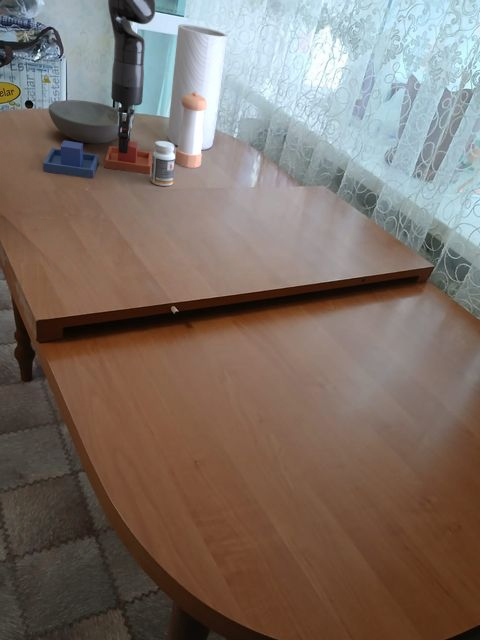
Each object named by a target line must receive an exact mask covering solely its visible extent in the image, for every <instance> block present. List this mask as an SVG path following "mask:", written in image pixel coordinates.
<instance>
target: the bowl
mask: <svg viewBox="0 0 480 640" xmlns="http://www.w3.org/2000/svg"><path fill="white" fill-rule="evenodd" d="M118 109H119V108H115V107H113V106H110V105H107V104H104V103H99V102H94V101H88V100H80V99H79V100H76V99H67V100H59V101H58V100H57V101H54V102H52V103H50V104H49V105H48V113H49V117H50V119H51V121H52V123H53V125H54V126H55V127H56V128H57V129H58V130H59V132H60V133H61V134H63V135H64V136H66V137H68V138H69V139H71V140H74V141H75V142H78V143H83V144H84V143H85V144H92V145H93V144H94V145H100V144H106V143H110V142H113V141H115V140H117V139H119V137H118V130H119V129H118ZM121 132H122V130H121Z"/></svg>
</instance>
